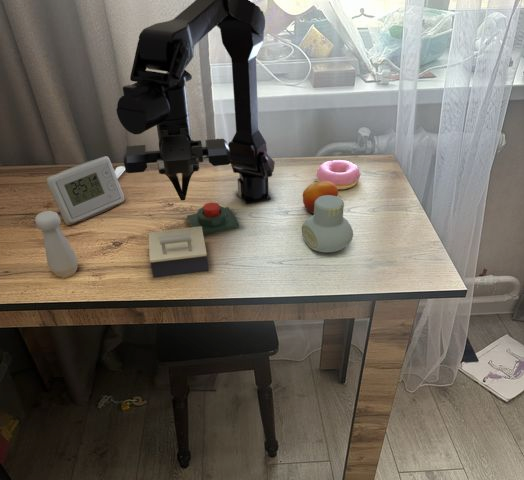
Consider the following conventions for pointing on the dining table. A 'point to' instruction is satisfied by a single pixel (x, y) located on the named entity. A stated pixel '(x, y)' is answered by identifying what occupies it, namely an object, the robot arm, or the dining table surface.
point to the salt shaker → (56, 245)
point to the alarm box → (214, 221)
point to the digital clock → (85, 190)
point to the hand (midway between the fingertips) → (182, 199)
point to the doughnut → (339, 173)
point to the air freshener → (327, 226)
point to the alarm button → (211, 209)
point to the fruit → (318, 193)
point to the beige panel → (176, 244)
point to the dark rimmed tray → (179, 266)
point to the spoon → (119, 171)
